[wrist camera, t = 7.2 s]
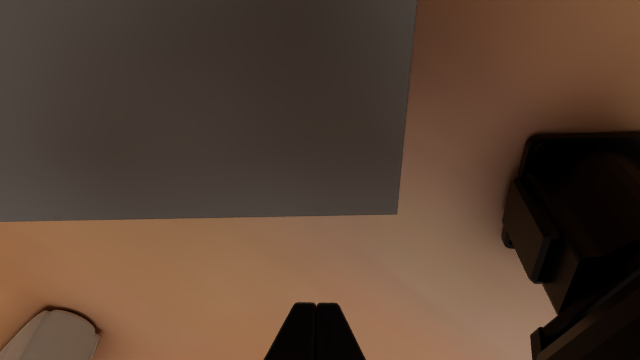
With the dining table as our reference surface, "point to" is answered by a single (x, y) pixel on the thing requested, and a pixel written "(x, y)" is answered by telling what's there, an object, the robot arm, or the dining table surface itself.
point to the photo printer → (53, 338)
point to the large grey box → (202, 108)
